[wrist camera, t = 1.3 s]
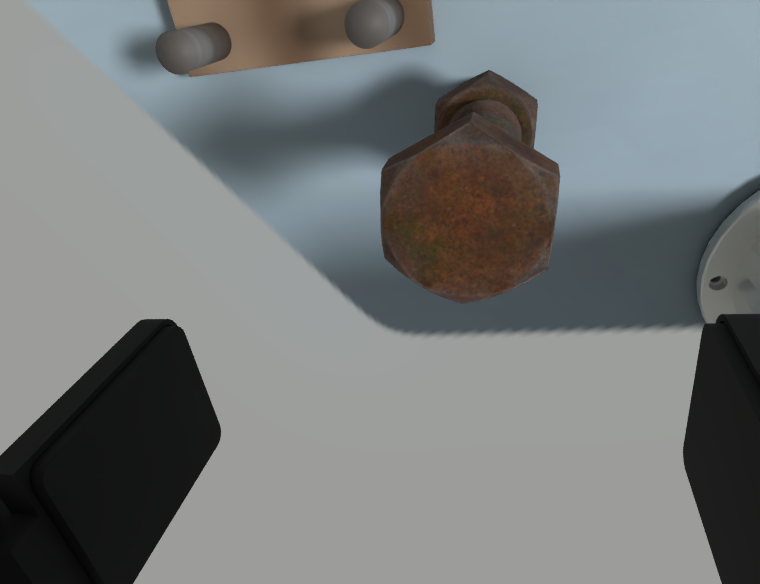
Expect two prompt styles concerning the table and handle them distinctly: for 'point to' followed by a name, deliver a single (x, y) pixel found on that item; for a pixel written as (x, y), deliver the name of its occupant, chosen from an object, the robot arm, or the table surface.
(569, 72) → the table surface
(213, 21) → the peg holder
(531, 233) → the bolt
